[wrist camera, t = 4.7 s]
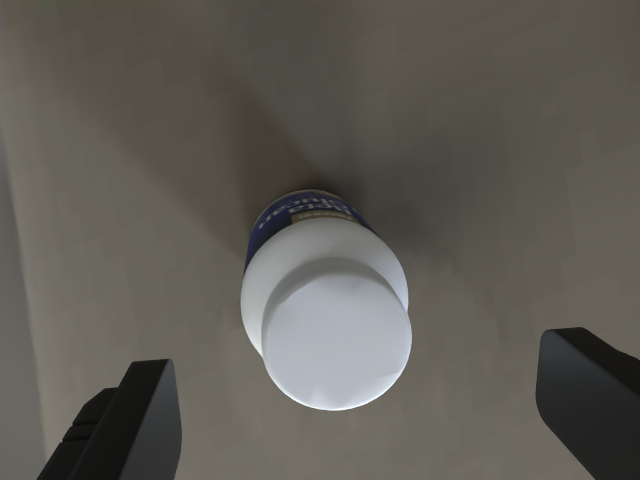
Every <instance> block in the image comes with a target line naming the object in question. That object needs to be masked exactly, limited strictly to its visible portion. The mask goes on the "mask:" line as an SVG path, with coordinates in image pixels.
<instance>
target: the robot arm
mask: <svg viewBox="0 0 640 480" xmlns="http://www.w3.org/2000/svg"><path fill="white" fill-rule="evenodd" d="M536 403H537V407H538V411H539V413H540V416H541V418H542V419H543V421H544V422H545V424H546V425H547V426H548V427H549V428H550V429H551V430H552V432H553V433H554V434H555V435H556V436H557V437H558V438H559V439H560V441H561V442H562V443H563V444H564V445H565V446H566V447H567V448H568V449H569V451H570V452H571V453H572V454H573V455H574V456H575V457H576V458H577V460H578V461H579V462H580V463H581V464H582V465H583V466H584V467H585V469H586V470H587V471H588V472H589V473H590V474H591V475H592V476H593V477H594V479H595V480H640V360H639V359H637V358H635V357H632V356H630V355H628V354H625V353H623V352H620V351H618V350H616V349H615V348H613V347H612V346H610V345H609V344H607V343H606V342H604V341H603V340H601V339H600V338H598V337H597V336H595V335H594V334H592V333H591V332H590V331H588V330H587V329H585V328H582V327H576V328H563V329H550V330H546V331H545V332H544V333H543V334H542V337H541V341H540V350H539V361H538V372H537V383H536ZM181 443H182V429H181V419H180V411H179V403H178V395H177V386H176V378H175V371H174V365H173V362H172V360H171V359H160V360H147V361H135V362H132V363H131V365H130V367H129V368H128V370H127V372H126V374H125V376H124V377H123V379H122V381H121V383H120V385H119V386H118V387H117V388H105V389H104V390H102V391H101V392H100V393H98V394H97V395H96V396H95V397H93V398H92V399H91V400H90V401H88V402H87V403H86V404H84V406H83V407H82V409H81V410H80V412H79V414H78V415H77V417H76V418H75V420H74V421H73V426H72V427H70V428H69V429H68V431H67V432H66V434H65V436H64V437H63V442H62V443H59V445H58V447H57V448H56V450H55V451H54V453H53V454H52V456H51V458H50V459H49V461H48V462H47V464H46V465H45V467H44V469H43V470H42V472H41V473H40V475H39V476H38V478H37V480H174V477H175V473H176V470H177V466H178V462H179V458H180V453H181Z"/></svg>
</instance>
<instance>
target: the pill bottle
mask: <svg viewBox="0 0 640 480" xmlns="http://www.w3.org/2000/svg"><path fill="white" fill-rule="evenodd" d="M407 308H408V289H407V283H406V279H405V275H404V272H403V269H402V267H401V265H400V263H399V261H398V259H397V258H396V256H395V255H394V253H393V252H392V250H391V249H390V248H389V247H388V245H387V244H386V243H385V242H384V241H383V240H382V239H381V238H380V237H379V236H378V234H377V233H376V232H375V231H374V230H373V229H372V228H371V227H370V226H369V224H368V223H367V222H366V221H365V220H364V219H363V218H362V217H361V216H360V214H359V213H358V212H357V211H356V210H355V209H354V208H353V207H352V206H351V205H350V204H349V203H347V202H346V201H344V200H343V199H341V198H340V197H338V196H336V195H334V194H331V193H328V192H325V191H320V190H301V191H295V192H292V193H289V194H286V195H284V196H282V197H280V198H278V199H277V200H275V201H274V202H273V203H271V204H270V205H269V206H268V207H267V208H266V209H265V210H264V211H263V212H262V213H261V215H260V216H259V217H258V219H257V221H256V223H255V224H254V227H253V229H252V232H251V236H250V239H249V245H248V251H247V257H246V264H245V270H244V276H243V282H242V290H241V313H242V319H243V323H244V326H245V329H246V332H247V334H248V336H249V338H250V340H251V342H252V344H253V345H254V347H255V348H256V350H257V351H258V352H259V353H260V354H261V356H262V357H263V360H264V363H265V366H266V369H267V371H268V373H269V375H270V377H271V378H272V380H273V381H274V382H275V384H276V385H277V386H278V387H279V388H280V389H281V390H282V391H283V392H284V393H285V394H286V395H288V396H289V397H290V398H292V399H293V400H295V401H297V402H299V403H301V404H304V405H306V406H309V407H312V408H316V409H323V410H344V409H350V408H354V407H358V406H361V405H363V404H366V403H368V402H370V401H372V400H373V399H375V398H377V397H378V396H380V395H382V394H383V393H384V392H385V391H386V390H388V389H389V388H390V387H391V386H392V385H393V383H394V382H395V381H396V380H397V378H398V377H399V376H400V374H401V373H402V371H403V369H404V367H405V365H406V363H407V360H408V357H409V354H410V349H411V341H412V332H411V325H410V320H409V317H408V314H407Z"/></svg>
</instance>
